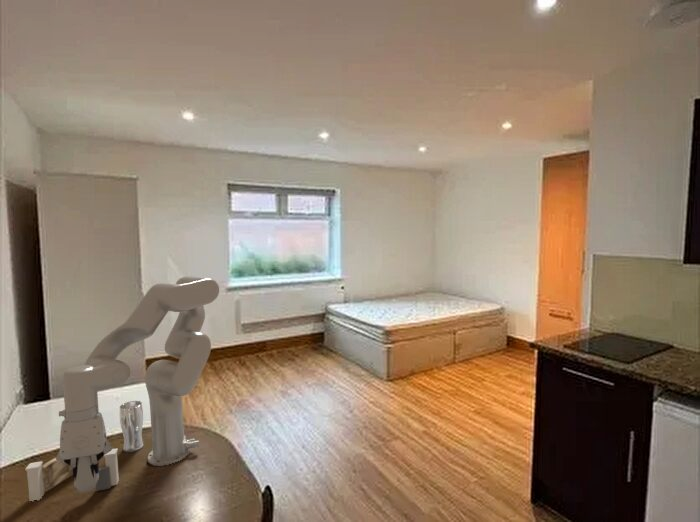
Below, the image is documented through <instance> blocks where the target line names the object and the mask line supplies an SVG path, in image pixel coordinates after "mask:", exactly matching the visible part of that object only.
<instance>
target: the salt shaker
mask: <svg viewBox="0 0 700 522" xmlns="http://www.w3.org/2000/svg"><path fill="white" fill-rule="evenodd" d="M92 464H93V463H92V459H91V456H86V457H80V458H78V460H77V468H78V469H77V477H76V482H75V479H74V481H73V486H74V487H75V488H76V489H77V491H78V493H89V492H90V491H93V490H94V489H96V484H97V482H98V479H99V473H97V474H96V473H95V470H94V478H93V475H92V472H91V468H90V466H91V465H92Z"/></svg>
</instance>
